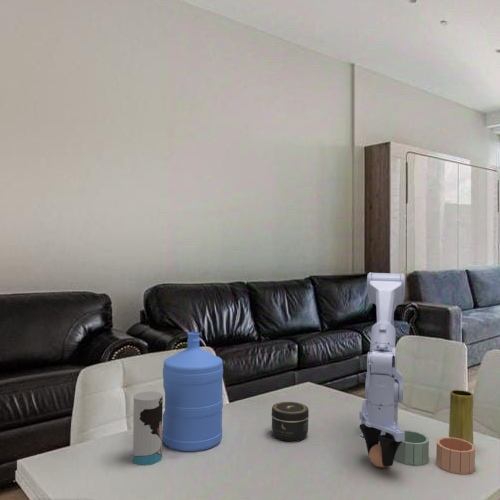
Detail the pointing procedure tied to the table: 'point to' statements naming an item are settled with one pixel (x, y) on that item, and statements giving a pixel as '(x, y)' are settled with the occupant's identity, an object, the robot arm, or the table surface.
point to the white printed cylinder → (147, 428)
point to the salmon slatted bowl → (455, 455)
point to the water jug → (192, 398)
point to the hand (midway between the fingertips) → (380, 460)
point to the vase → (461, 415)
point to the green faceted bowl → (413, 449)
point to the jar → (290, 421)
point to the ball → (376, 455)
